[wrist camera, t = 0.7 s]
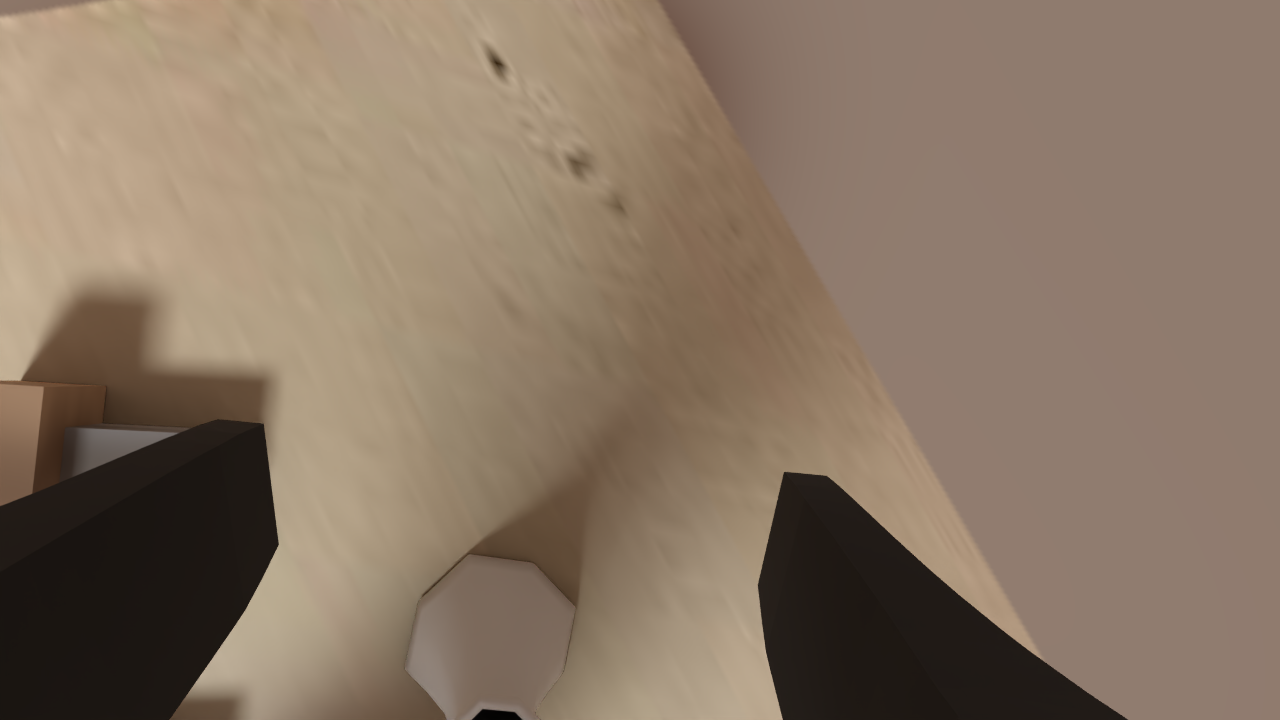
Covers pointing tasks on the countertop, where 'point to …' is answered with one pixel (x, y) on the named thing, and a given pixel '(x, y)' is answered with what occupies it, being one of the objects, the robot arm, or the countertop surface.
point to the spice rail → (60, 435)
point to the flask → (490, 639)
